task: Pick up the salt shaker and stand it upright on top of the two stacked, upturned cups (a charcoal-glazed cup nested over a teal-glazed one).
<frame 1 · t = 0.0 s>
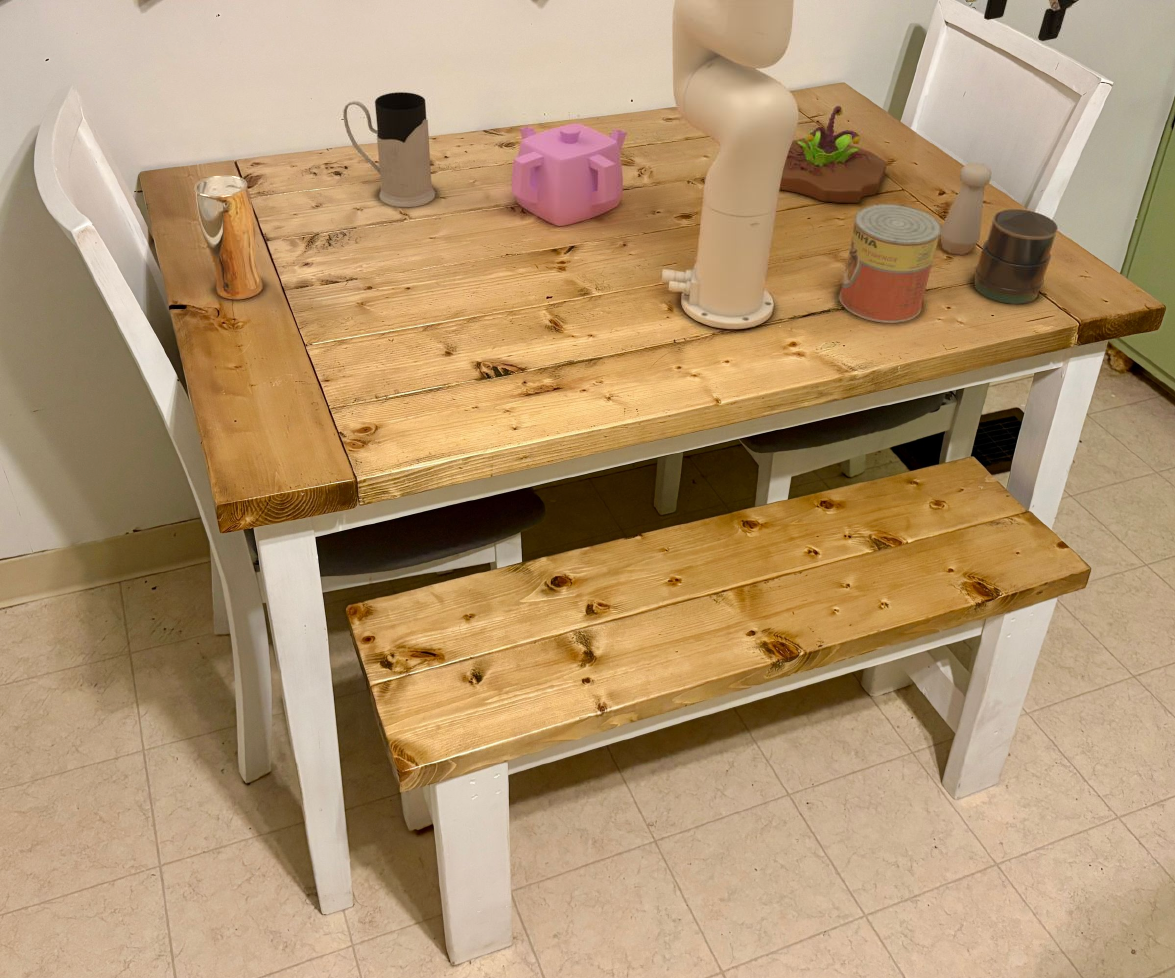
hand: (1019, 28, 153), 31 cm above the table, tool pointing down, fingers open, 9 cm apart
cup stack: (1005, 288, 161), on the table
canned food: (879, 303, 157), on the table
glass holder: (391, 193, 179), on the table
teakettle: (568, 203, 178), on the table
beer glass: (240, 289, 154), on the table
salt shaker: (955, 249, 170), on the table
plant: (823, 176, 189), on the table
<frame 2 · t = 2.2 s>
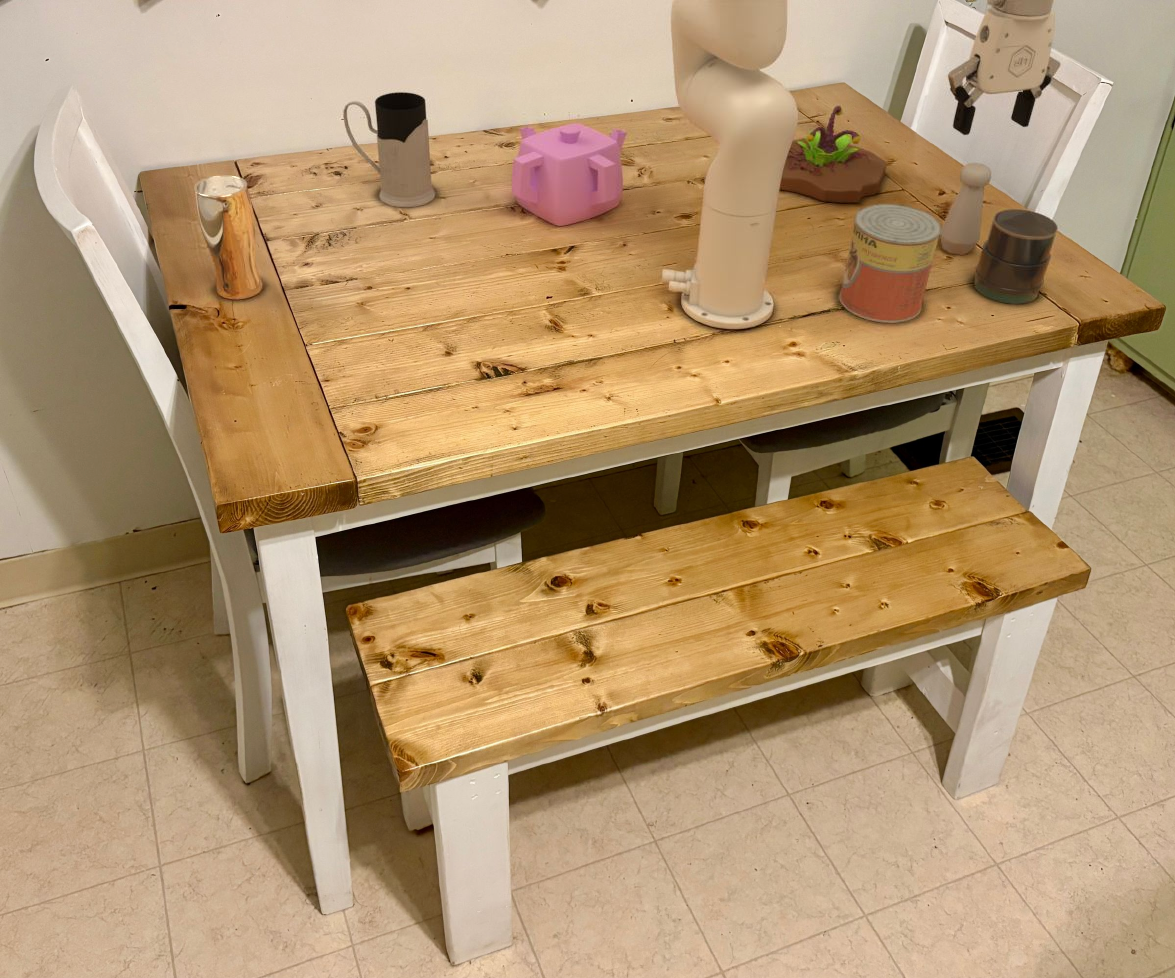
hand: (990, 127, 158), 19 cm above the table, tool pointing down, fingers open, 9 cm apart
nothing on the table moved.
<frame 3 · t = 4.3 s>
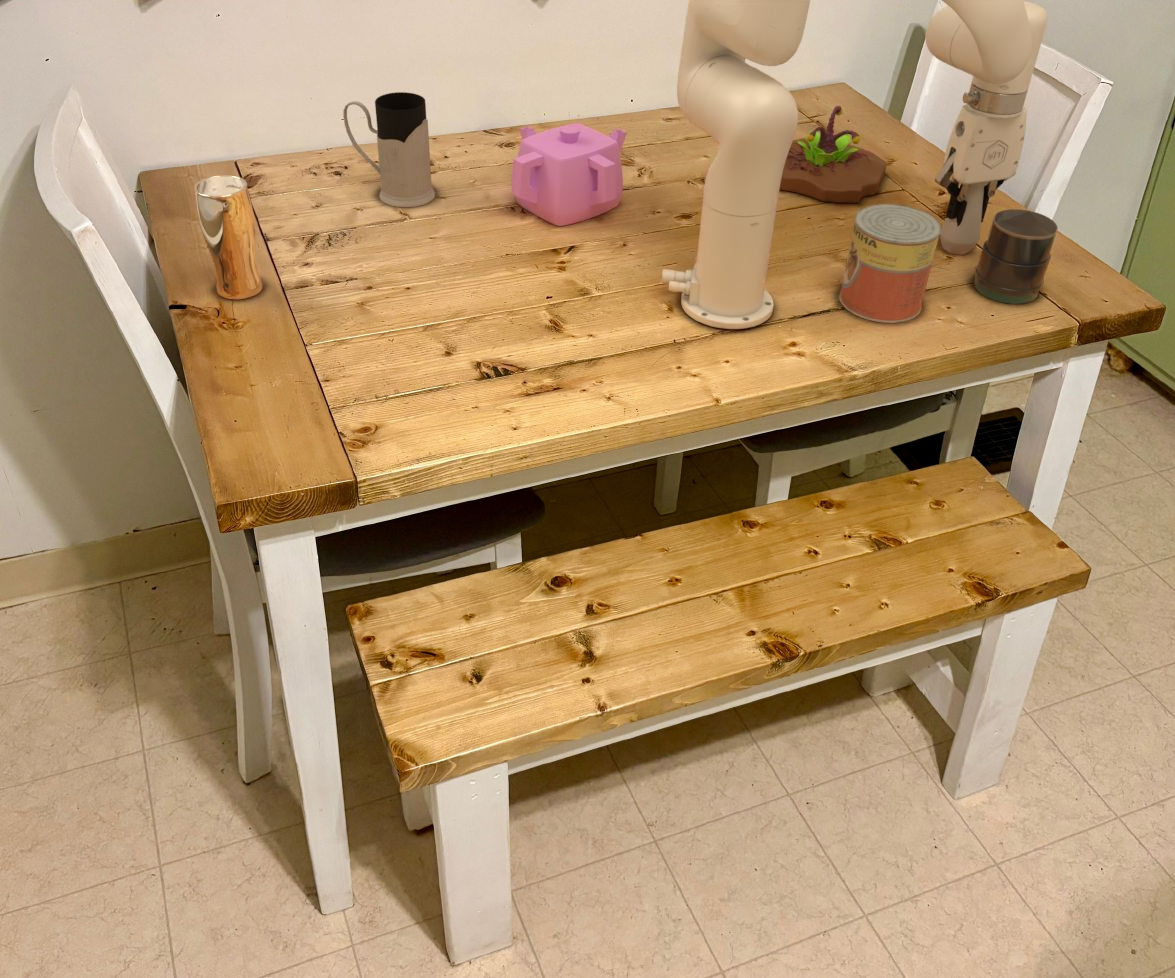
hand: (964, 219, 167), 5 cm above the table, tool pointing down, fingers closed on salt shaker, 3 cm apart
salt shaker: (955, 249, 170), on the table, touching gripper
everything else where it was.
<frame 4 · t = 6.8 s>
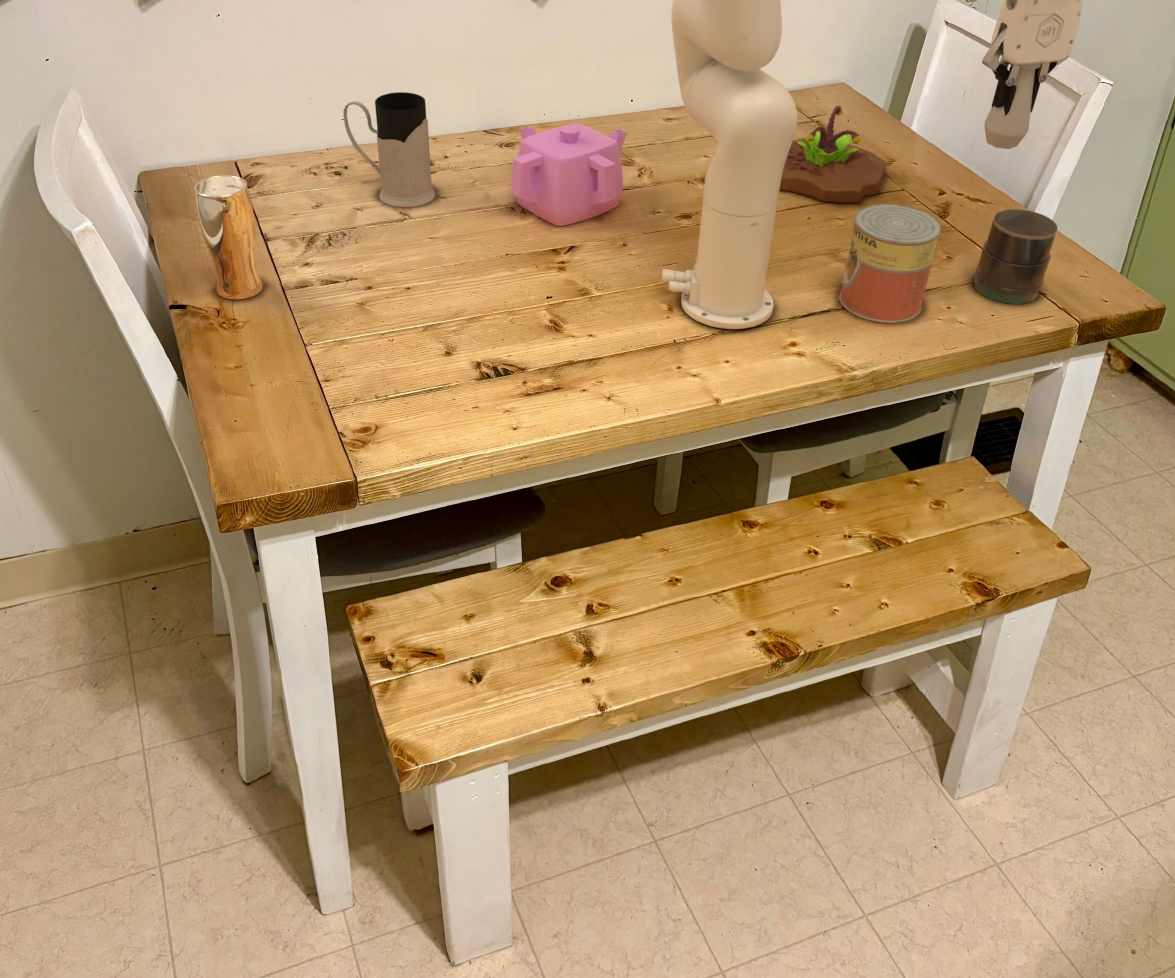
hand: (1011, 109, 153), 23 cm above the table, tool pointing down, fingers closed on salt shaker, 3 cm apart
salt shaker: (1001, 144, 156), point 18 cm above the table, touching gripper
everything else where it was.
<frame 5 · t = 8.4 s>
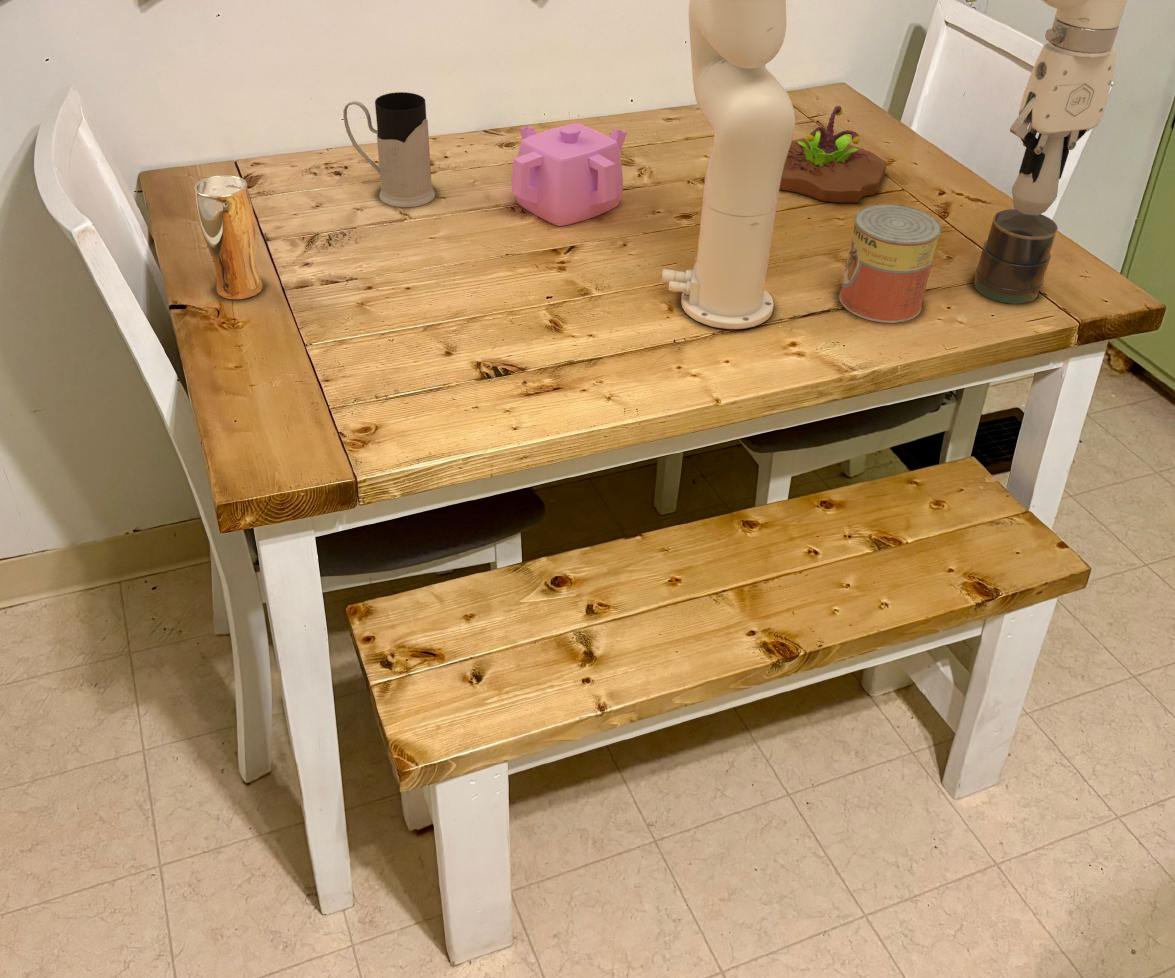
hand: (1039, 175, 150), 17 cm above the table, tool pointing down, fingers closed on salt shaker, 3 cm apart
salt shaker: (1028, 210, 153), point 12 cm above the table, touching gripper
everything else where it was.
when the fingers open (15 cm above the table, at t = 9.3 s): salt shaker stays where it is, resting on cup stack.
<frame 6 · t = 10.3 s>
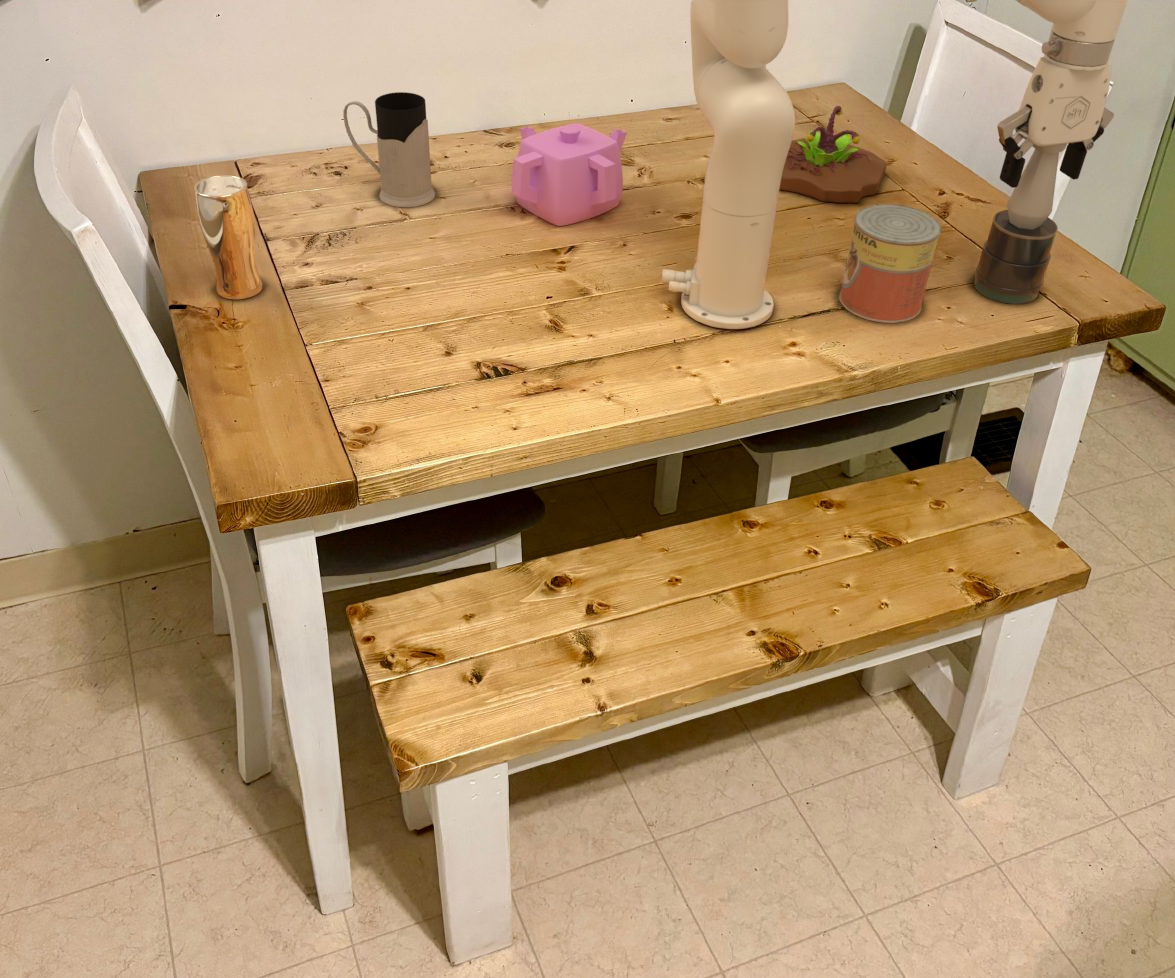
hand: (1038, 179, 150), 17 cm above the table, tool pointing down, fingers open, 9 cm apart
salt shaker: (1024, 224, 154), point 10 cm above the table, touching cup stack
everything else where it was.
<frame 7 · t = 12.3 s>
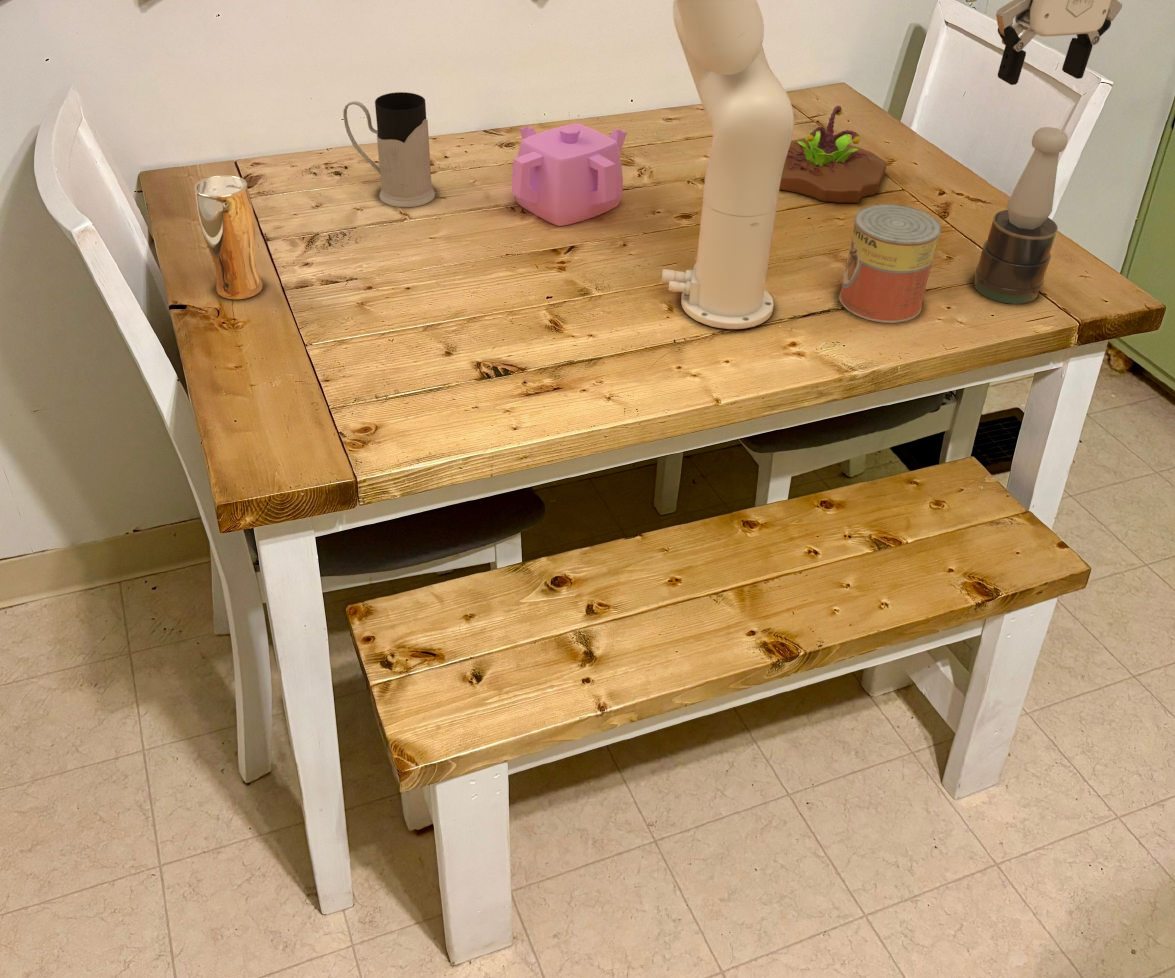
hand: (1039, 77, 138), 31 cm above the table, tool pointing down, fingers open, 9 cm apart
nothing on the table moved.
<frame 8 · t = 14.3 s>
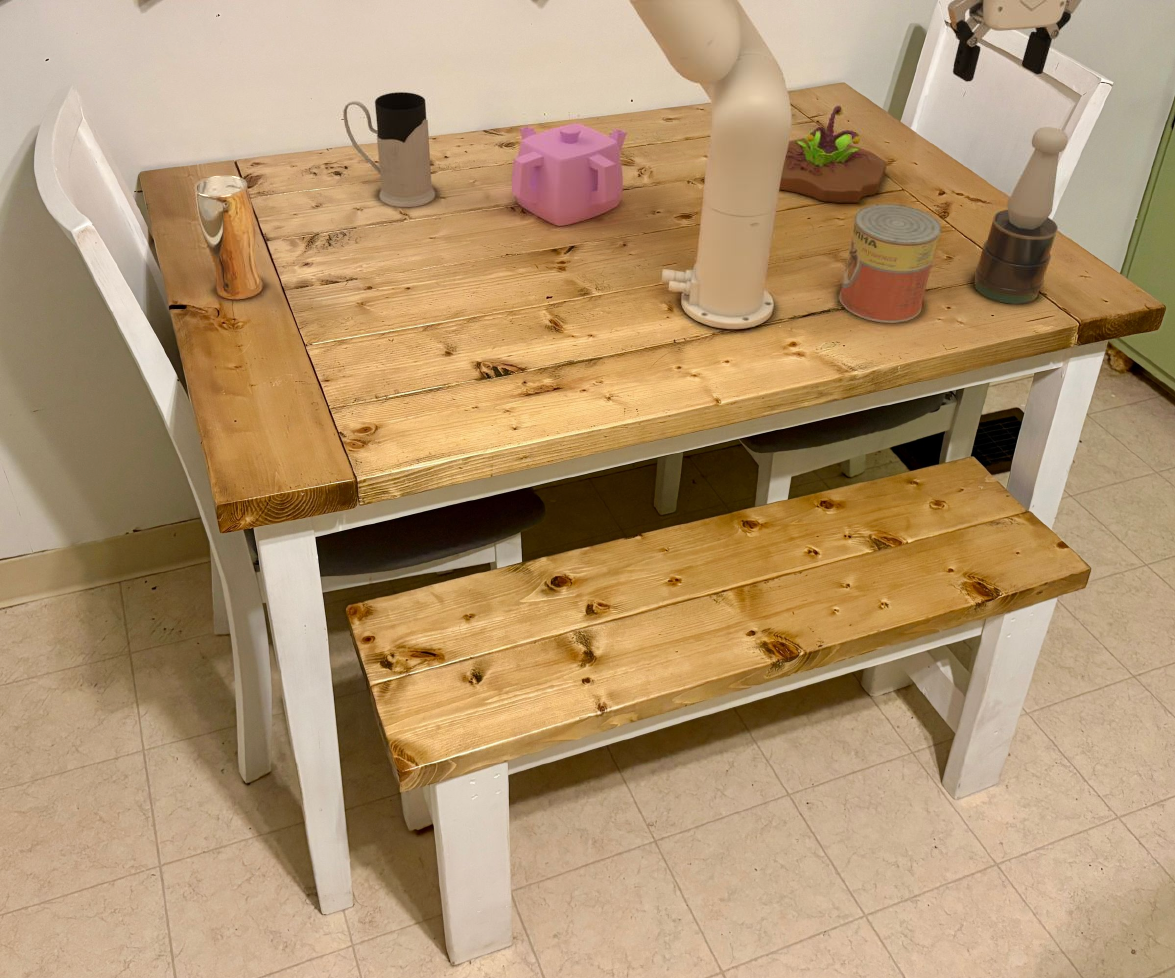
hand: (997, 73, 132), 33 cm above the table, tool pointing down, fingers open, 9 cm apart
nothing on the table moved.
at the end: salt shaker 0.1 cm off-centre on the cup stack, point 10.0 cm above the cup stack's base; salt shaker tilted 0°; the gripper is holding nothing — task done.
